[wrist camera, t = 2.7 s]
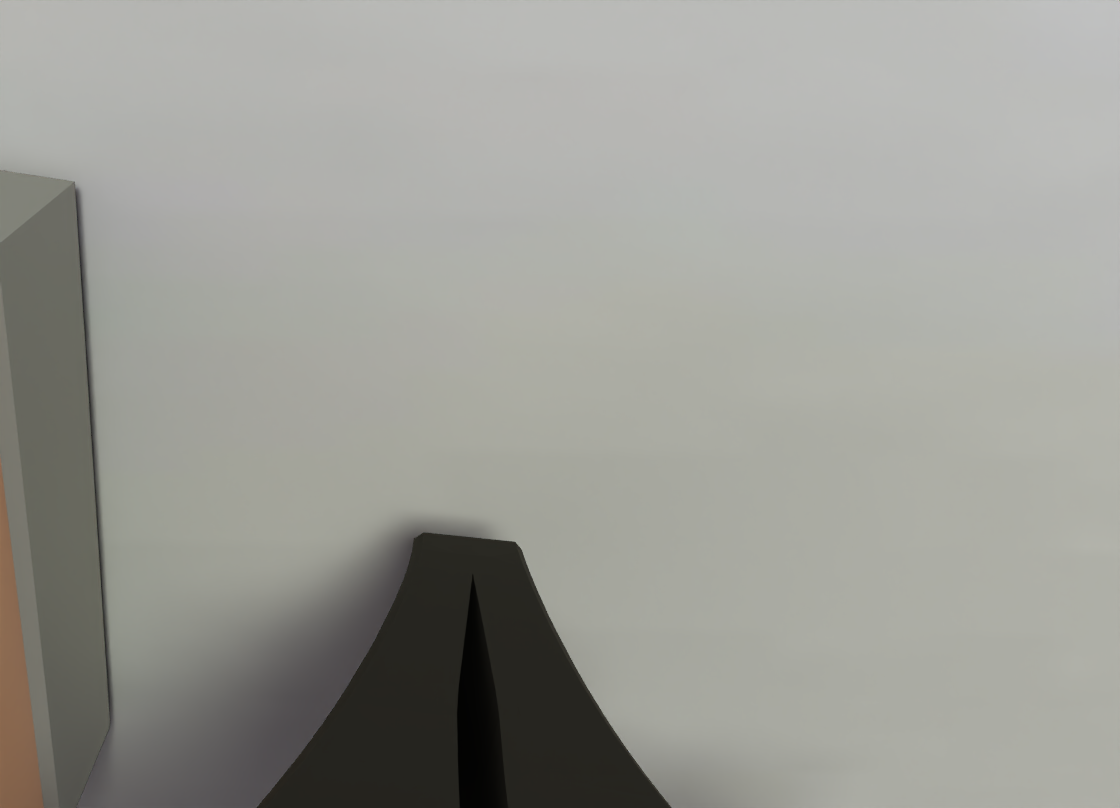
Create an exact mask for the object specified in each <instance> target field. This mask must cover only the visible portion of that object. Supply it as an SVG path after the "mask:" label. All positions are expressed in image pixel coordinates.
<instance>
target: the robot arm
mask: <svg viewBox="0 0 1120 808" xmlns="http://www.w3.org/2000/svg"><path fill="white" fill-rule="evenodd" d="M257 808H671V807H670V805H669V804H668V803H667V801H666V800H665V799H664V798H663V796H662V795H661V794H660V793H659V791H658V790H657V789H656V788H655V786H654V785H653V784H652V782H651V781H650V780H649V779H648V777H647V776H646V775H645V773H644V772H643V771H642V769H641V768H640V767H639V765H638V764H637V762H636V761H635V760H634V758H633V757H632V756H631V754H630V753H629V752H628V750H627V749H626V747H625V746H624V744H623V743H622V742H621V740H620V739H619V737H618V736H617V734H616V733H615V731H614V730H613V728H612V727H611V725H610V724H609V722H608V721H607V719H606V718H605V716H604V714H603V713H602V711H601V709H600V708H599V706H598V705H597V703H596V701H595V700H594V698H593V696H592V695H591V693H590V692H589V690H588V688H587V687H586V685H585V683H584V681H583V680H582V678H581V676H580V674H579V673H578V671H577V669H576V667H575V666H574V664H573V662H572V660H571V658H570V656H569V654H568V652H567V650H566V649H565V647H564V645H563V643H562V641H561V639H560V637H559V635H558V633H557V632H556V630H555V628H554V625H553V623H552V621H551V619H550V617H549V615H548V613H547V611H546V609H545V606H544V604H543V602H542V600H541V598H540V596H539V593H538V591H537V589H536V586H535V584H534V582H533V579H532V577H531V574H530V572H529V569H528V566H527V564H526V561H525V558H524V555H523V552H522V550H521V548H520V547H519V546H518V545H517V544H516V542H511V541H501V540H491V539H481V538H471V537H462V536H452V535H442V534H432V533H422V534H421V535H419V536H418V537H416V538H414V543H413V550H412V555H411V558H410V562H409V565H408V569H407V571H406V574H405V577H404V580H403V582H402V585H401V587H400V589H399V592H398V594H397V596H396V599H395V601H394V603H393V605H392V607H391V609H390V611H389V613H388V615H387V617H386V619H385V621H384V623H383V625H382V627H381V629H380V631H379V633H378V635H377V637H376V639H375V641H374V643H373V645H372V647H371V648H370V650H369V652H368V653H367V655H366V657H365V658H364V660H363V662H362V663H361V665H360V667H359V668H358V670H357V672H356V673H355V675H354V677H353V678H352V680H351V682H350V683H349V685H348V687H347V688H346V690H345V691H344V693H343V695H342V696H341V698H340V699H339V701H338V702H337V704H336V705H335V707H334V708H333V710H332V711H331V713H330V714H329V715H328V717H327V718H326V720H325V721H324V723H323V724H322V726H321V727H320V728H319V730H318V731H317V732H316V734H315V735H314V736H313V738H312V739H311V741H310V742H309V743H308V745H307V746H306V747H305V749H304V750H303V751H302V753H301V754H300V755H299V757H298V758H297V759H296V760H295V762H294V763H293V764H292V765H291V767H290V768H289V769H288V770H287V772H286V773H285V774H284V775H283V777H282V778H281V779H280V780H279V782H278V783H277V784H276V785H275V787H274V788H273V789H272V790H271V791H270V793H269V794H268V795H267V796H266V797H265V799H264V800H263V801H262V802H261V803H260V804H259V806H258V807H257Z"/></svg>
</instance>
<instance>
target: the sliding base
mask: <svg viewBox="0 0 1120 808" xmlns="http://www.w3.org/2000/svg"><path fill="white" fill-rule="evenodd" d="M109 727H110V717H109V702H108V686H107V671H106V656H105V640H104V625H103V610H102V594H101V579H100V564H99V549H98V533H97V518H96V503H95V487H94V472H93V457H92V441H91V426H90V411H89V396H88V380H87V365H86V350H85V334H84V319H83V304H82V288H81V273H80V258H79V242H78V227H77V212H76V197H75V182H73V181H67V180H60V179H54V178H47V177H41V176H34V175H28V174H21V173H15V172H8V171H2V170H0V808H76V807H77V804H78V802H79V799H80V797H81V795H82V792H83V790H84V787H85V785H86V783H87V780H88V778H89V775H90V773H91V771H92V768H93V766H94V763H95V761H96V759H97V756H98V754H99V751H100V749H101V747H102V744H103V742H104V739H105V737H106V735H107V732H108V730H109Z"/></svg>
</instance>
